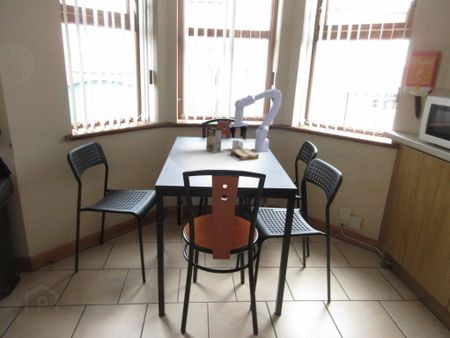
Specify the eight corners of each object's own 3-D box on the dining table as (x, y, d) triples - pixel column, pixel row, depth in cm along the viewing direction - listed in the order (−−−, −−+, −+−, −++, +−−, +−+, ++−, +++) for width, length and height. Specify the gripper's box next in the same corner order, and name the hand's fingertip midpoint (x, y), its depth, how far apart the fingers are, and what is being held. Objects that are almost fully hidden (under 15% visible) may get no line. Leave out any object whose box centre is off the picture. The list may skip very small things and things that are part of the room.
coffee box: (205, 150, 218) (206, 127, 213) (212, 149, 222) (213, 126, 217) (214, 153, 211) (215, 129, 206) (221, 152, 215) (222, 129, 210)
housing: (236, 148, 227) (237, 139, 225) (242, 151, 221) (243, 142, 219) (232, 148, 225) (232, 139, 223) (237, 151, 219) (238, 142, 217)
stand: (245, 152, 217) (245, 148, 216) (258, 158, 204) (258, 154, 203) (230, 153, 212) (230, 149, 211) (242, 160, 198) (242, 155, 197)
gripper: (243, 116, 222) (242, 135, 226) (226, 117, 214) (225, 136, 218) (249, 118, 216) (248, 137, 221) (233, 118, 208) (231, 138, 212)
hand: (237, 137), depth 219 cm, fingers open, 7 cm apart
